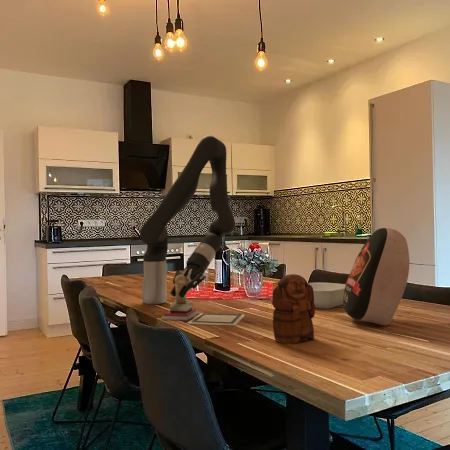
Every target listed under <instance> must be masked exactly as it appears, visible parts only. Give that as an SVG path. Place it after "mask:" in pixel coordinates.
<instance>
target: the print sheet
mask: <svg viewBox="0 0 450 450" xmlns="http://www.w3.org/2000/svg"><path fill="white" fill-rule="evenodd" d="M245 316H246V314H239V313H238V314H237V313H211V312H210V313H207V312H205V313H204V312H203V313H202V312H201V313H199V314H197V315H196V316H194V318H191V320H188V322H187V323H186V324H187V325H209V326H211V325H212V326H235V327H236V325H238V324H239V323H240V322H241V321H242V320H243V318H244V317H245Z"/></svg>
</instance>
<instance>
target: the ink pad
mask: <svg viewBox="0 0 450 450" xmlns="http://www.w3.org/2000/svg"><path fill="white" fill-rule="evenodd" d="M198 315H199V310H198V309H197V308H196V307H192V309H191V310H190V311H188V312H170V310H167V311H166V312H164V313H163V315H162V317H161V320H163V321H164V320H165V321H190V319H191V320H192V319H193V317H194V318H195V317H196V316H198Z"/></svg>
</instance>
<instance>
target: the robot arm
mask: <svg viewBox="0 0 450 450" xmlns="http://www.w3.org/2000/svg"><path fill="white" fill-rule="evenodd" d="M208 163H209V164H210V168H211V181H210V184H209V200H210V207H211V211H212V212H213V213H217V218H216V219H213V221H212V222H211V223H210V225H209V226H208V228H207V230H206V232H205V235H204V236H203V238H202V239H201V241H200V243H198V245H197V246H196V247H195V249H193V251H192V253H191V255H190V256H189V257H188V259H187V260H186V264H185V267H184V268H183V269H182V270H181V271H180V270H176V271H175V273H174V277H173V280H172V283H173V284H174V286H173V288H172V289H171V290H170V295H171V296H172V297H174V298H176V287H175V277H176V276H177V275H184V276H185V277H186V283H185V286H183V287H182V289H181V290H180V292H179V293H178V295H179V296H180V297H181V298H183V297H184V296H185V295H186V296H187V293H188V292H189V291H190V290H191V289H194V290H195V289H197V287H198V286H199V285H200V284H201V283H202V282H203V281H204V280H205V279H206V276H205V275H204V274H205V272H206V270H207V269H208V268H209V266H210V264H211V263H212V261H213V259H215V258H214V257H215V255H216V254H217V252H218V251H219V249H220V248H221V246H222V239H223V238H224V236H226V235H229V234H230V233H232V232H233V231H234V230H235V227H236V220H235V217H234V214H233V211H232V209H231V207H230V203H229V196H228V195H229V193H228V187H227V147H226V145H225V143H224V142H223V141H222V140H220V139H218V138H217V137H215V136H213V135H206V136H204V137H202V139H201V140H200V141H199V142H198V144H197V145H196V147H195V149H194V151H193V153H192V154H191V157H190V158H189V160H188V162H187V163H186V165H185V166H184V168H183V169H182V171H181V172H180V174H179V175H178V177H177V178H176V179H175V180H174V182H173V184H172V185H171V187H170V188H169V190H168V191H167V193H166V194H165V196H164V197H163V199H162V201H161V202H160V203H159V204H158V207H157V208H156V210H155V211H154V212H153V214H151V215H150V217H149V218H148V219H147V220H146V221H145V223H144V224H143V225H142V227H141V228H140V231H139V238H140V240H141V242H142V243H143V244H144V245H145V244H146V246H147V247H146V251H145V252H144V254H143V256H142V257H143V279H142V280H141V294H142V295H141V301H142V302H141V303H142V304H148V305H159V304H165V303H167V300H168V299H167V255H168V247H169V246H168V245H169V244H168V243H169V241H168V240H169V238H168V237H169V235H168V229H167V225H168V223H170V222H171V220H172V219H173V218H174V217H175V216H176V215H177V214H178V213H180V212H181V211H182V210H184V208H185V207H186V206H187V205H188V204H189V202H190V201H191V199H192V198H193V197H194V195H195V193H196V192H197V189H198V185H199V179H200V176H201V174H202V171H203V169H204V168H205V167H206V165H207V164H208Z"/></svg>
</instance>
